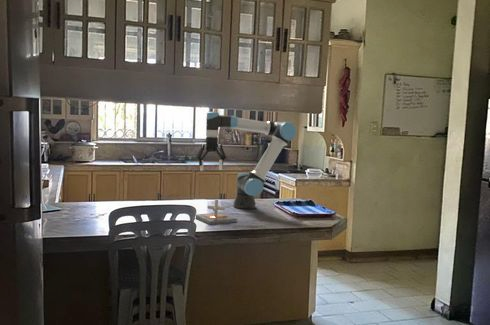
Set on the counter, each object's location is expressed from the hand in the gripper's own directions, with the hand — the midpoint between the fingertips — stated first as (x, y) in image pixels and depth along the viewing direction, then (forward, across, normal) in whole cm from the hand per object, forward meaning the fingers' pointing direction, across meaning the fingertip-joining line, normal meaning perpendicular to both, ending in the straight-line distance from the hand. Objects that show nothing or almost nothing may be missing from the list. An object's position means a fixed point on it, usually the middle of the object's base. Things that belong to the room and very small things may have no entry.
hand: (211, 170), depth 288 cm
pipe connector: (+24, +8, +21) cm, 33 cm away
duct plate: (+26, +8, +21) cm, 35 cm away
